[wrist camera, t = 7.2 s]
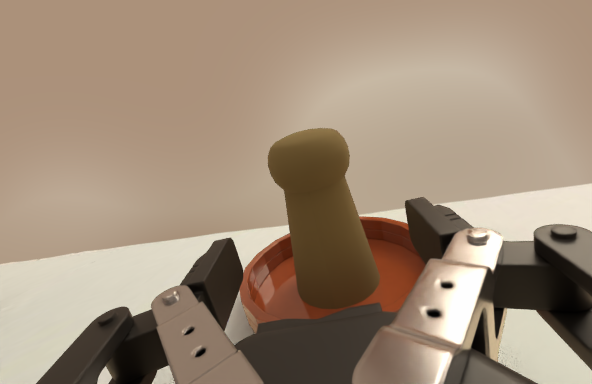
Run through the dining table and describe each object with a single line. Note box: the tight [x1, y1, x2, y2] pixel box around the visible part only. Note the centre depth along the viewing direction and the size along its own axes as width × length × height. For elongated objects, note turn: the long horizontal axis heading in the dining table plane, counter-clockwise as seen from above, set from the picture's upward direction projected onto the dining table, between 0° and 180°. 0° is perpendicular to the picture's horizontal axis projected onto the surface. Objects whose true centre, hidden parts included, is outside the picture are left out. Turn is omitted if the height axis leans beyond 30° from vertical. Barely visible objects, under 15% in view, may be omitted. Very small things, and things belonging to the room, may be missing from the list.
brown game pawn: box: [268, 128, 380, 309], centre depth 20 cm, size 6×6×11 cm
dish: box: [239, 217, 426, 334], centre depth 22 cm, size 14×14×2 cm
